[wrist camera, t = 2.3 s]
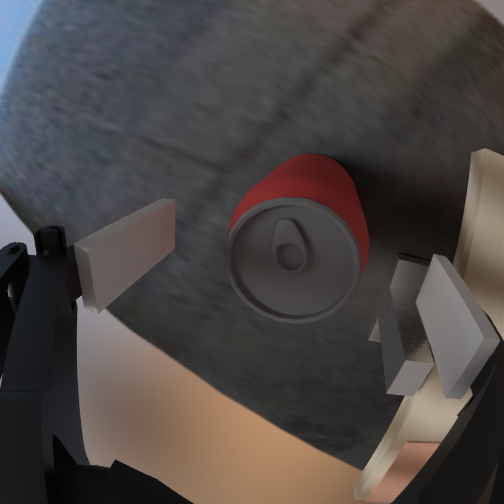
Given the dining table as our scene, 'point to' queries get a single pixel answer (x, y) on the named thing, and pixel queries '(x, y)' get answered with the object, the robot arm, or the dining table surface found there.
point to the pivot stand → (403, 327)
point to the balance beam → (431, 391)
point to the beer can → (298, 241)
